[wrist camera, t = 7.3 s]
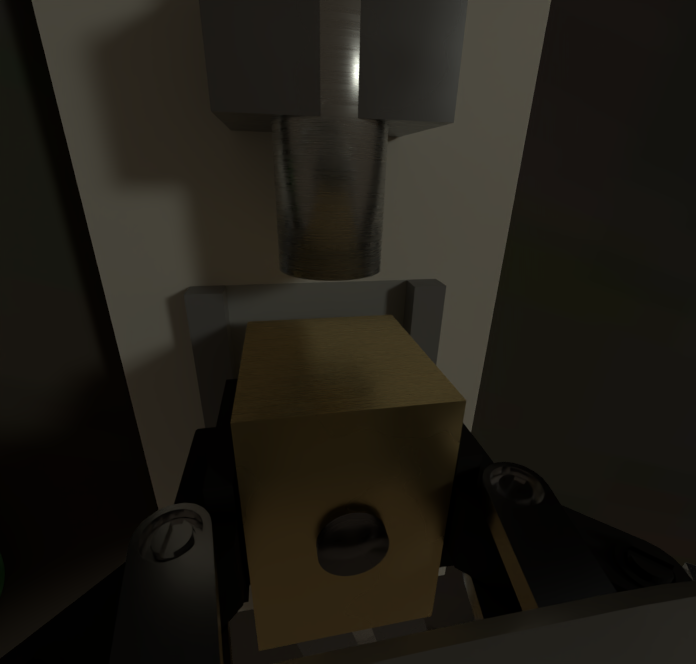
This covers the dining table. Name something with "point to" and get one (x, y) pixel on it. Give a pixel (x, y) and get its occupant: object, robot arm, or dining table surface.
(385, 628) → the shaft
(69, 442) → the dining table surface
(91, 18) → the mounting base plate
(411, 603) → the tan box with knob
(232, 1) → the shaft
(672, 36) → the dining table surface
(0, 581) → the tape roll
